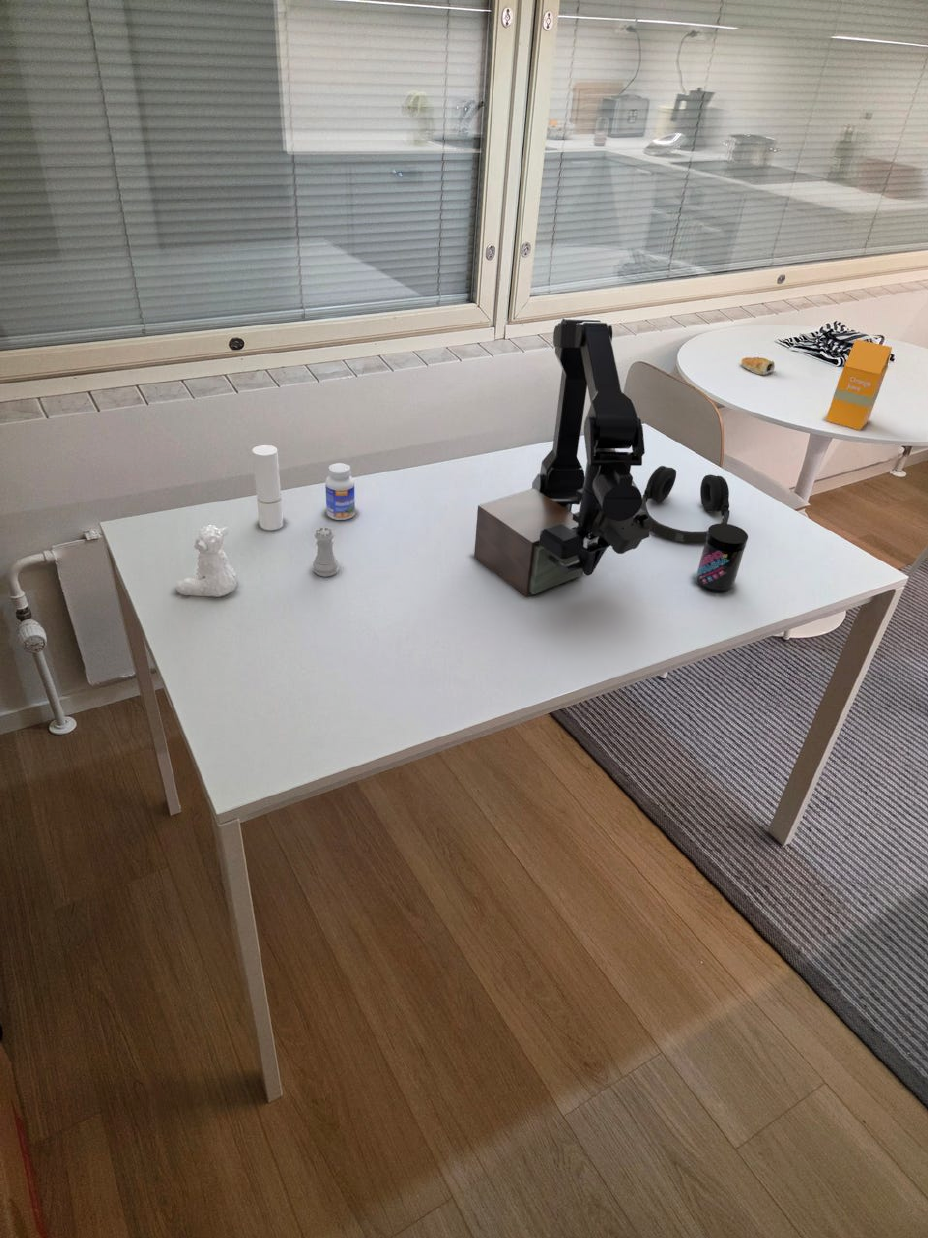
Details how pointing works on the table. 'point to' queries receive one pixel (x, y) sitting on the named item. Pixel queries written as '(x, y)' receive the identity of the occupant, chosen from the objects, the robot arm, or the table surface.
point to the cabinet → (515, 533)
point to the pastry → (758, 365)
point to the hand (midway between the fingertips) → (587, 574)
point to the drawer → (551, 570)
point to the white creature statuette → (210, 566)
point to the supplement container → (721, 557)
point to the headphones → (711, 498)
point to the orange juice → (859, 384)
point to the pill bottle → (340, 492)
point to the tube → (268, 487)
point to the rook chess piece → (325, 554)
